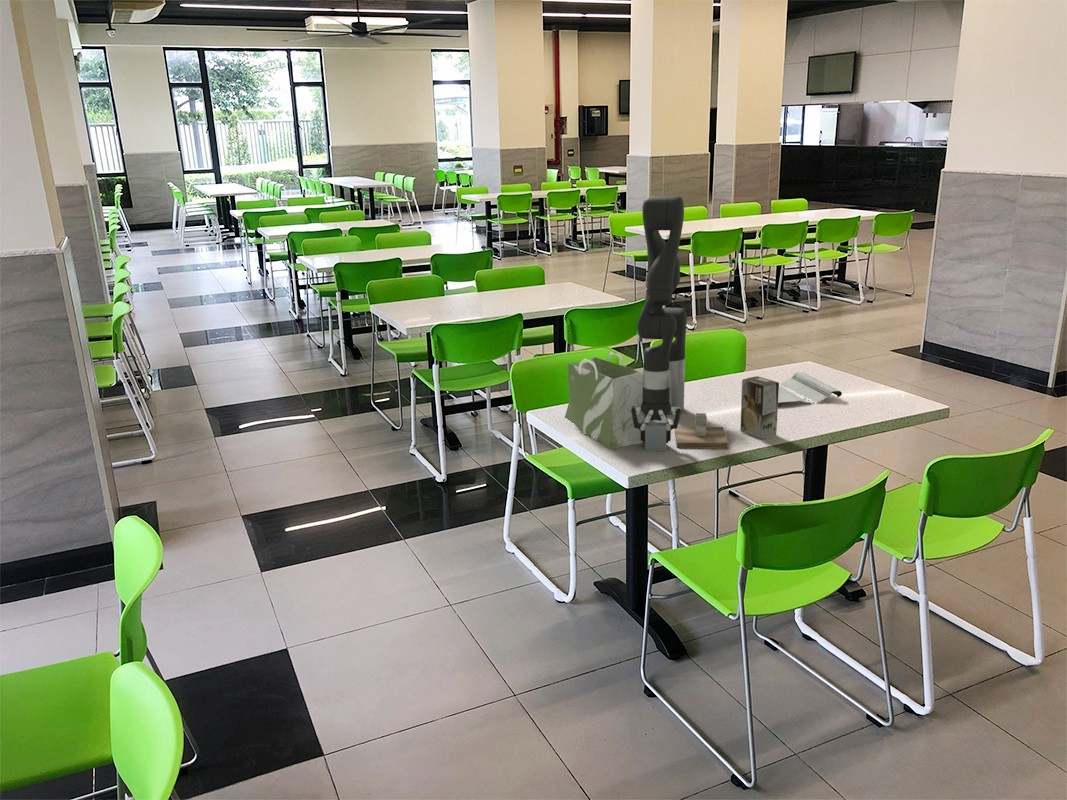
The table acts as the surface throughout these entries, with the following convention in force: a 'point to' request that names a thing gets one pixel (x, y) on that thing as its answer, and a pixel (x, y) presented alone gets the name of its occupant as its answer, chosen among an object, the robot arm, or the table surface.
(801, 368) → the table surface
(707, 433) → the flat brown square board
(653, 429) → the slate grey cube
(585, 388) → the grocery bag
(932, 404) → the table surface
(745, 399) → the coffee box
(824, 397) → the mat
